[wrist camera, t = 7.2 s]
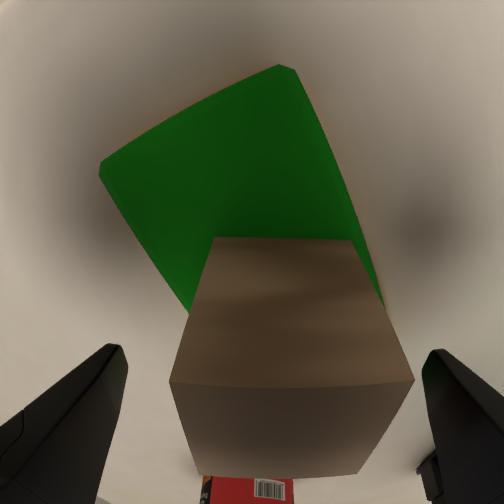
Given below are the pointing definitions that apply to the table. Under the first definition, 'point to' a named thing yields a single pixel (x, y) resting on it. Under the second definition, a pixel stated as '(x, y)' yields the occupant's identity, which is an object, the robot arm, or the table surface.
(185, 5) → the table surface
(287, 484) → the canned food
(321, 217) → the dish sponge
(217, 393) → the walnut block
